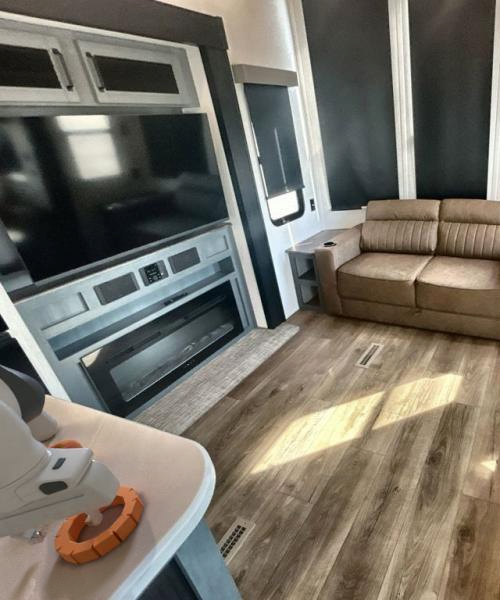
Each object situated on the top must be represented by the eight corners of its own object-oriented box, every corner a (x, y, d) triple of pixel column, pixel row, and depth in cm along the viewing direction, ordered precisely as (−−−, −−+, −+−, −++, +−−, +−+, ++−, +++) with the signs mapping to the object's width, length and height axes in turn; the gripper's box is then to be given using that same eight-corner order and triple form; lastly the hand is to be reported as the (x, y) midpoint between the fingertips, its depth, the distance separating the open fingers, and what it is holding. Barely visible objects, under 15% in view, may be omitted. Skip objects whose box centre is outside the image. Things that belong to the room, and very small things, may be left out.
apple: (86, 451, 82) (66, 426, 78) (97, 465, 78) (78, 440, 74) (45, 477, 77) (23, 451, 73) (55, 493, 73) (32, 467, 69)
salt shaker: (31, 437, 88) (-3, 397, 82) (60, 422, 92) (30, 383, 85) (33, 449, 84) (-2, 408, 78) (63, 433, 88) (32, 393, 82)
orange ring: (49, 575, 59) (39, 565, 57) (84, 508, 69) (76, 498, 68) (129, 549, 61) (121, 539, 60) (151, 488, 71) (144, 478, 70)
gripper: (-77, 521, 52) (-14, 572, 59) (83, 476, 56) (125, 528, 62) (-43, 484, 58) (11, 534, 64) (101, 444, 61) (138, 495, 68)
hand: (68, 530), depth 63 cm, fingers open, 7 cm apart
